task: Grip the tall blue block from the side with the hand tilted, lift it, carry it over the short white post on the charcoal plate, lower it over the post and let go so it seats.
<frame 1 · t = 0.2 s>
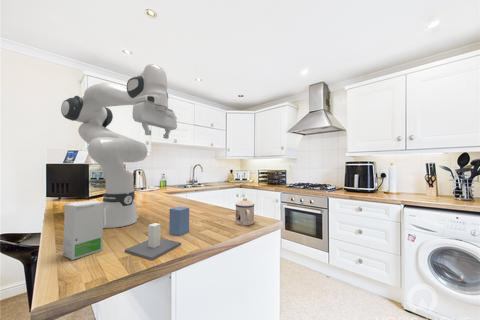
hand: (157, 136, 82), 39 cm above the counter, tool pointing down, fingers open, 8 cm apart
post: (154, 248, 65), on the counter
skincare box: (83, 253, 62), on the counter
blue block: (179, 232, 80), on the counter
teacup with lid: (245, 224, 93), on the counter
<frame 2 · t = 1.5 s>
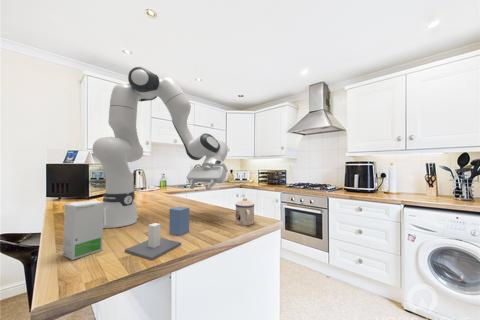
hand: (199, 188, 91), 16 cm above the counter, tool tilted 45°, fingers open, 8 cm apart
nothing on the counter moved.
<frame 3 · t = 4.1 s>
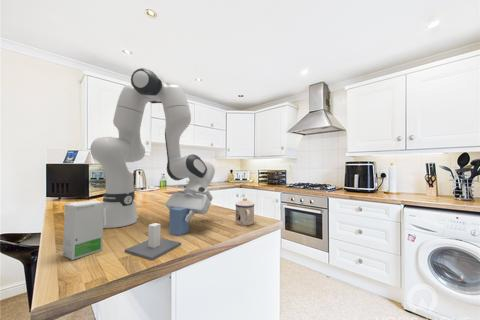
hand: (178, 220, 80), 5 cm above the counter, tool tilted 45°, fingers closed on blue block, 5 cm apart
blue block: (179, 232, 80), on the counter, touching gripper
everything else where it was.
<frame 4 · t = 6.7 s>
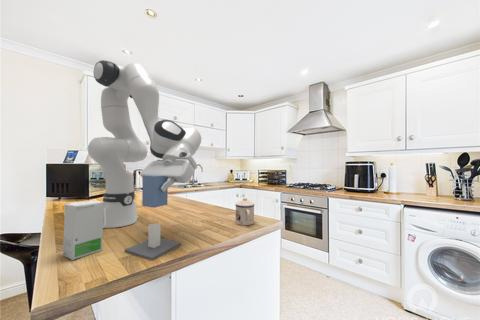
hand: (153, 189, 65), 19 cm above the counter, tool tilted 45°, fingers closed on blue block, 5 cm apart
blue block: (155, 205, 66), point 14 cm above the counter, touching gripper
everything else where it was.
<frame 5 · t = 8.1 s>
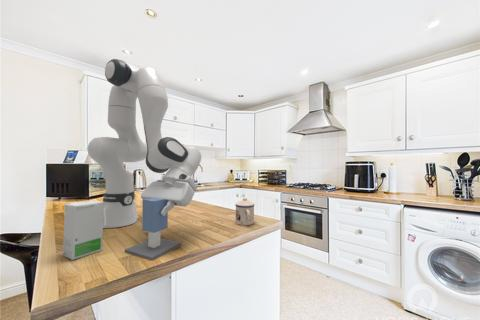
hand: (153, 213, 65), 12 cm above the counter, tool tilted 45°, fingers closed on blue block, 5 cm apart
blue block: (155, 229, 65), point 6 cm above the counter, touching gripper
everything else where it was.
when the fingers open (7 cm above the counter, at t = 9.4 s): blue block drops 1 cm, resting on post.
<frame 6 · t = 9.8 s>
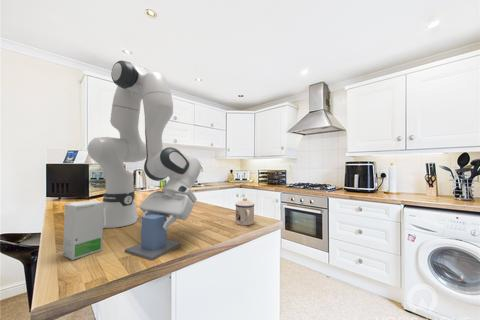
hand: (152, 226, 65), 7 cm above the counter, tool tilted 45°, fingers open, 8 cm apart
blue block: (154, 245, 65), point 1 cm above the counter, touching post
everything else where it was.
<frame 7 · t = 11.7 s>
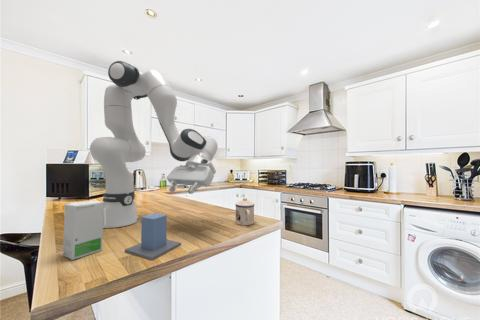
hand: (180, 191, 76), 17 cm above the counter, tool tilted 45°, fingers open, 8 cm apart
nothing on the counter moved.
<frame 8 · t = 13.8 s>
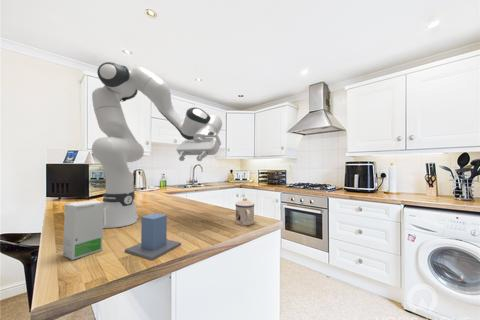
hand: (189, 159, 84), 29 cm above the counter, tool tilted 45°, fingers open, 8 cm apart
nothing on the counter moved.
at the end: blue block 0.1 cm from the post (horizontally); blue block point 0.8 cm above the counter; blue block tilted 0° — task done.
